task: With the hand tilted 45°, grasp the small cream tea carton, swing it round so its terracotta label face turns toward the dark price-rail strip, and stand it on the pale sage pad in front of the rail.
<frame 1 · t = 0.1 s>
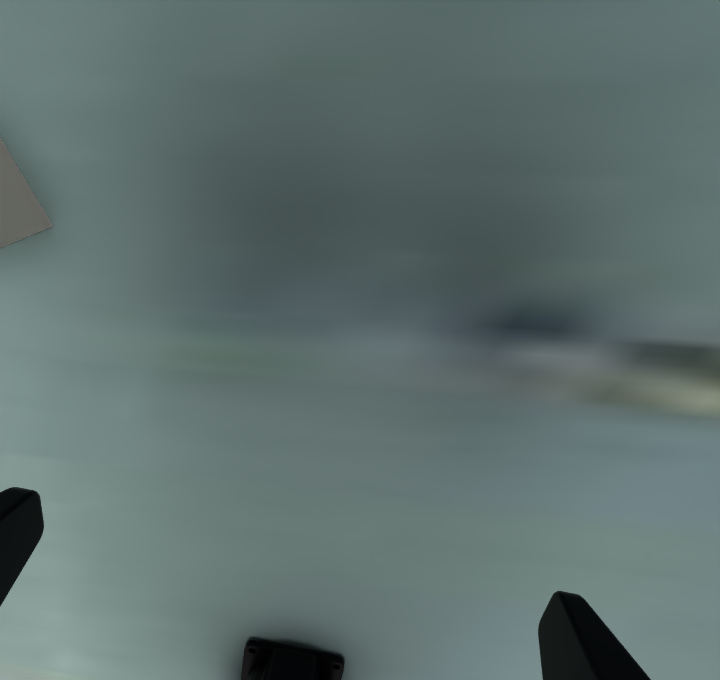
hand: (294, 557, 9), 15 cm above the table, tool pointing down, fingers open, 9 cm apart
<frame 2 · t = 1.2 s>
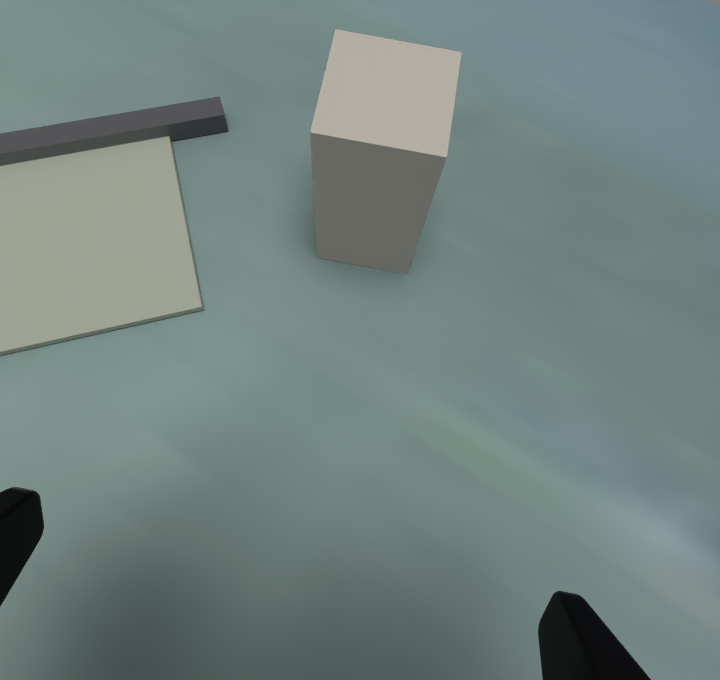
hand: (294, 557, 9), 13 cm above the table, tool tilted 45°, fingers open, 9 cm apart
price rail: (73, 149, 26), on the table
tea carton: (369, 226, 26), on the table
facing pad: (84, 240, 25), on the table
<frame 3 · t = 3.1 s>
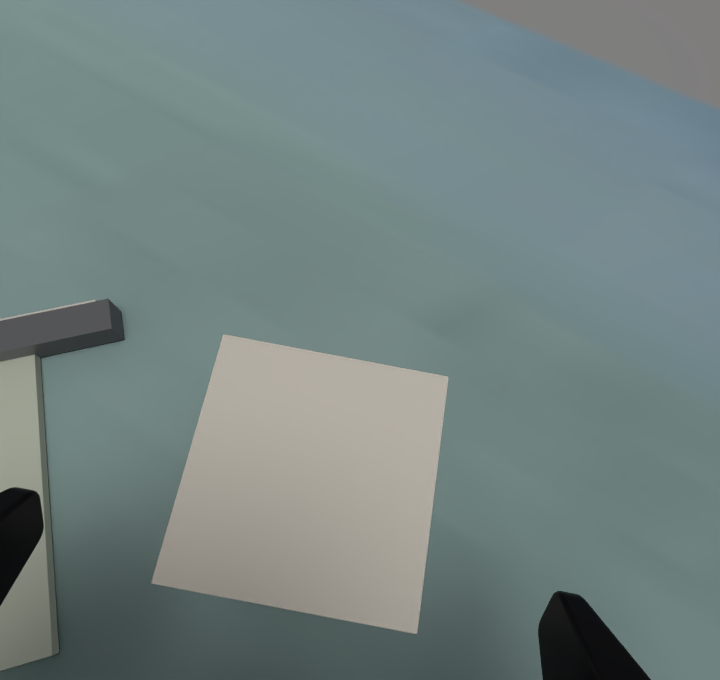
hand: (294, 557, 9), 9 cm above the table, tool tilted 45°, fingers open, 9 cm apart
tea carton: (319, 493, 18), on the table
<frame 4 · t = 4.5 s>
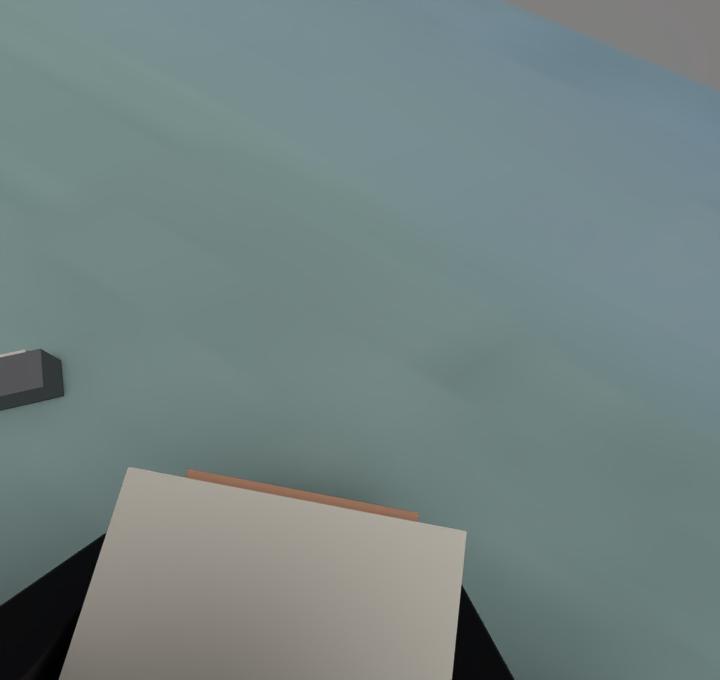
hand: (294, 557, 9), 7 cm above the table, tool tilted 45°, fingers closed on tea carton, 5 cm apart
tea carton: (298, 590, 14), on the table, touching gripper
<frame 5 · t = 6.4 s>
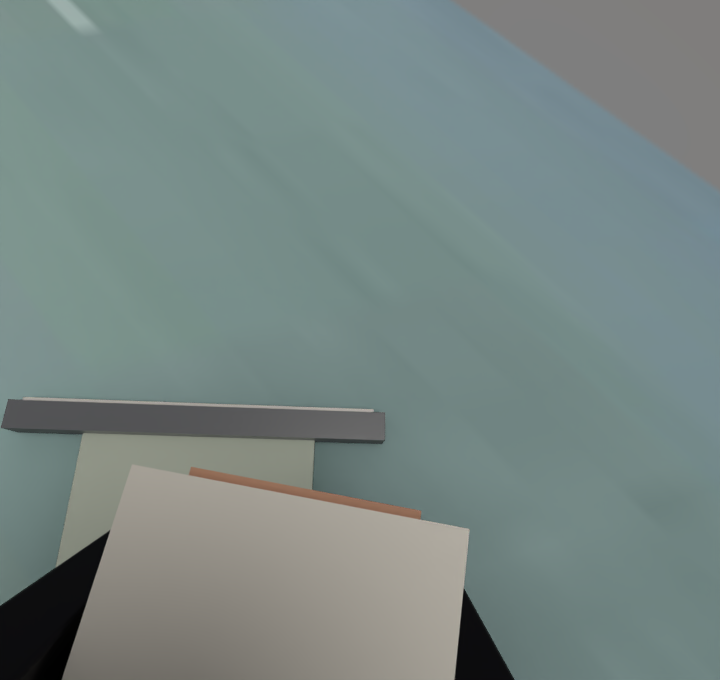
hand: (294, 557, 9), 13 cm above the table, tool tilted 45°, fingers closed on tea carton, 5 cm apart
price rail: (204, 424, 23), on the table
tea carton: (299, 589, 14), point 7 cm above the table, touching gripper
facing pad: (187, 558, 21), on the table
when the fingers open (8 cm above the table, at t = 8.4 s): tea carton drops 1 cm, resting on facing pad.
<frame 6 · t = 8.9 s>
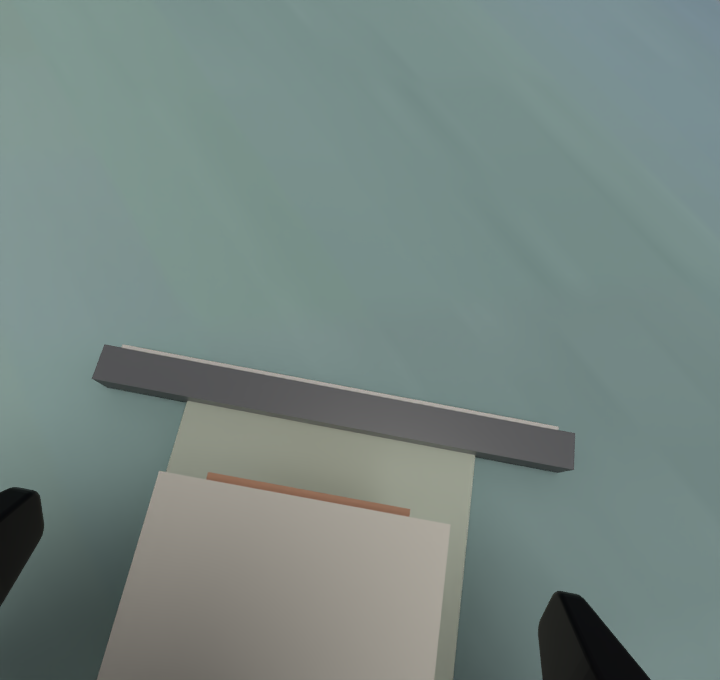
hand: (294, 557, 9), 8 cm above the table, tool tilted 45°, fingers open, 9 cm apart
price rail: (335, 413, 18), on the table
tea carton: (302, 583, 16), resting on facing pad
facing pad: (300, 583, 16), on the table
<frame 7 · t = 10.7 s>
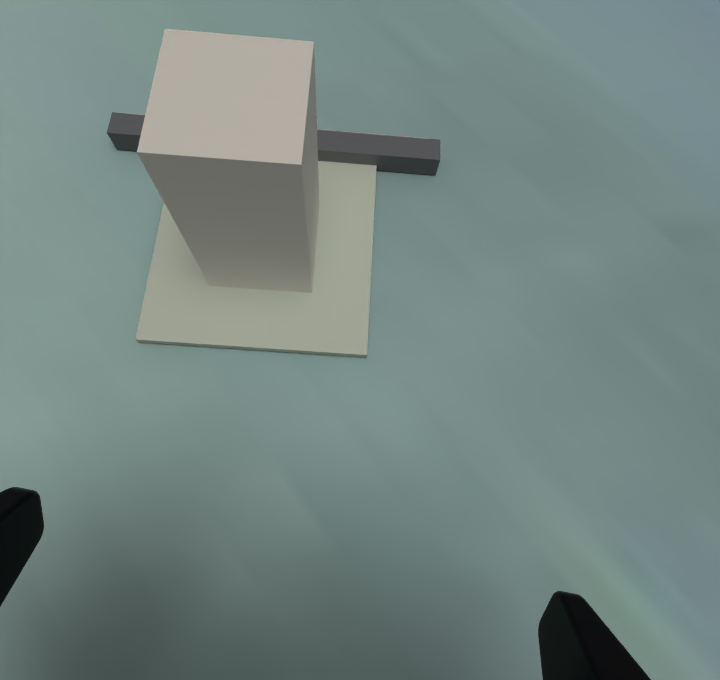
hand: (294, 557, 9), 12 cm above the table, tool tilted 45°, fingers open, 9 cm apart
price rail: (279, 152, 26), on the table
tea carton: (266, 244, 23), resting on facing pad
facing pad: (266, 249, 24), on the table
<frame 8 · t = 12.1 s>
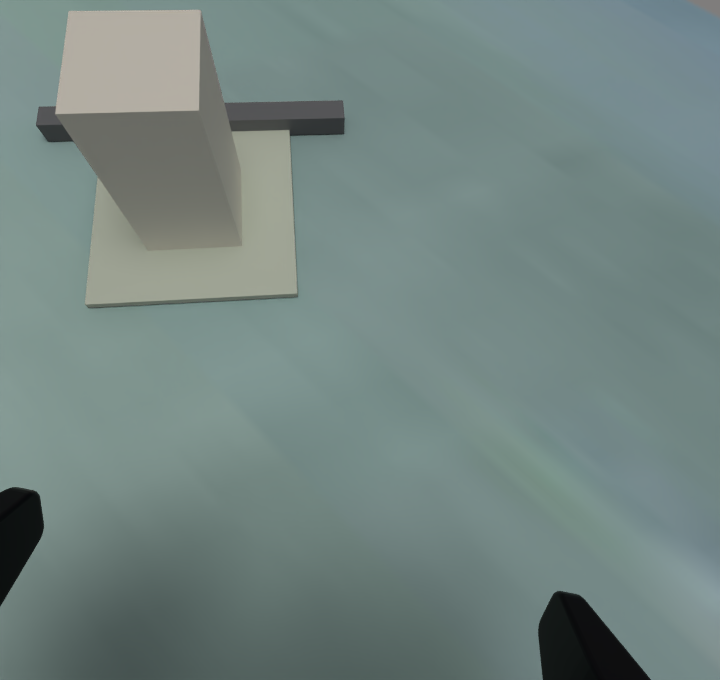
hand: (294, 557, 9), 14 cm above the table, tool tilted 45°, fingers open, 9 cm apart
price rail: (199, 128, 28), on the table
tea carton: (196, 208, 26), resting on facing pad
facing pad: (197, 214, 26), on the table
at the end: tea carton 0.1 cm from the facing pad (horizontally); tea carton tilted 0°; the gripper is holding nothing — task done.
